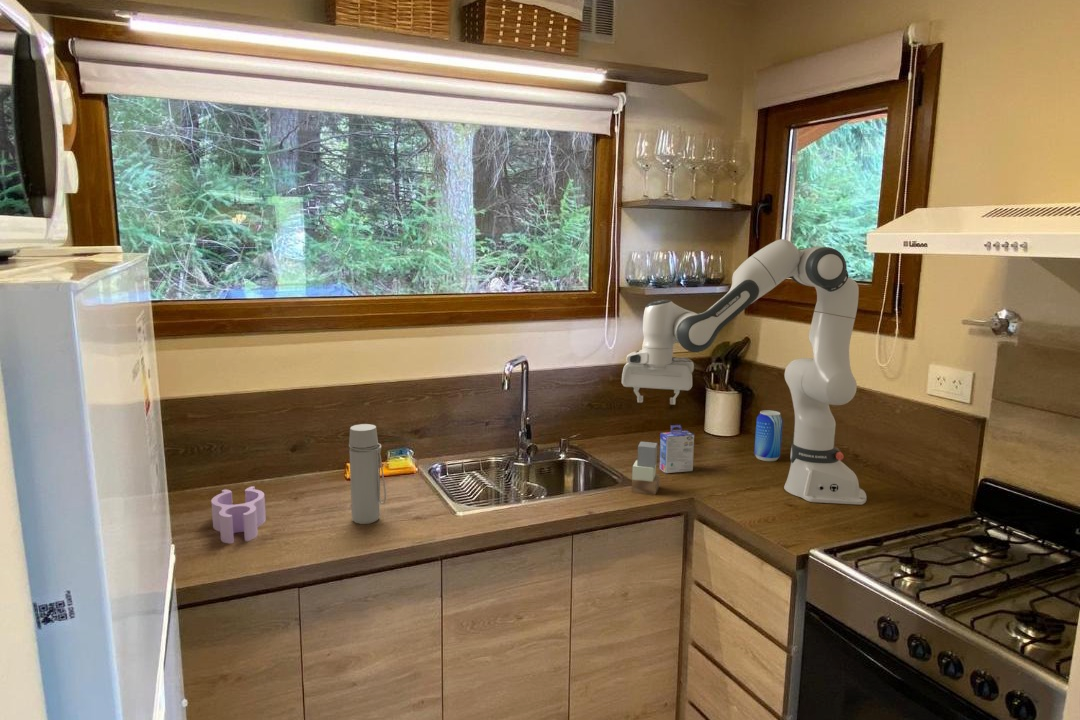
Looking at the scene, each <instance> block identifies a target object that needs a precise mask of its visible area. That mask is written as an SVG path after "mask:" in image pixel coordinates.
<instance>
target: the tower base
mask: <svg viewBox="0 0 1080 720" xmlns="http://www.w3.org/2000/svg"><path fill="white" fill-rule="evenodd" d="M659 488H660V474H656V476H655V478H654V480H653V482H651V481H642V480H634V479H632V478H631V493H634V494H636V493H637V494H642V495H643V494H645V495H652V496H656V495H657V493H658V490H659Z"/></svg>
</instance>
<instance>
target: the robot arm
mask: <svg viewBox="0 0 1080 720" xmlns="http://www.w3.org/2000/svg"><path fill="white" fill-rule="evenodd" d="M788 278H790V279H791V280H793V281H794V282H796V283H797V284H799V285H801V286H808V287H813V288H814V289H815V290H816V304H815V307H814V309H813V315H812V319H811V324H810V328H809V332H808V341H809V343H810V345H811V349H812V357H813V358H809V357H808V358H807V357H802V358H795V359H794V360H792V361H790V362H789V363H788V364H787V366H786V367H785V370H784V374H783V375H784V380H785V382H786V385H787V386H788V388H789V392H790V395H791V401H792V406H793V410H794V430H793V442H792V443H791V446H790V447H791V448H790V454H789V455H790V458H789V459H790V467H789V471H788V475H787V478H786V481H785V484H784V486H783V488H784V490H785V491H786V492H787V493H789V494H790V495H793V496H796V497H799V498H802V499H803V500H805V501H807V502H810V503H820V504H821V503H822V504H823V503H826V504H842V505H864V504H865V503H867V493H866V492H865V490H864V489H863V488H861V487H860V485H859V484H860V483H859V479H858V476H857V475H856V473H855V472H854V471H853V470H852V469H851V468H850V467H848V466H847V465H846V464H845V463H844V462H843V461H842V460H843V459H844V457H845V456H844V454H843V452H842V451H841V450H840V449H839V448H838V447H837V446H835V437H836V436H835V435H836V424H837V423H836V420H835V417H834V415H833V413H832V411H831V409H830V405H832V406H842V405H846V404H848V403H849V402H850V401H852V400H853V399H854V397H855V396H856V393H857V389H858V388H857V387H858V385H857V380H856V378H855V377H854V375H853V373H852V369H851V361H850V360H851V359H850V344H851V338H852V335H853V329H854V325H855V321H856V316H857V311H858V306H859V305H858V304H859V293H860V291H859V289H860V287H859V285H858V283H857V281H855V280H854V279H853V278H851V277H849V272H848V269H847V262H846V258H845V256H844V255H843V254H842V252H841V251H839V250H838V249H836V248H833V247H830V246H829V247H828V246H813V247H807V248H801V249H798V247H797V246H796V245H795V244H794V243H793V242H791V241H790V240H787V239H784V238H781V239H777V240H774V241H773V242H770V243H769V244H767V245H765V246H764V247H762V248H760V249H759V250H757V251H756V252H754V253H753V254H752V255H751V256H749V257H748V258H747V259H746V260H744V261H743V262H742V263H741V264H740V265H739V266H738V267H737V269H735V270H734V272H733V273H732V277H731V285H730V289H729V290H728V292H727V293H726V294H724V295H723V297H721V298H720V299H718V300H717V301H716V302H715V303H714V304H713V305H711V306H710V307H709V308H708V309H707V310H706V311H705V310H704V312H702V313H701V312H700V313H696V312H694V311H692V310H688V309H685V308H683V307H681V306H679V305H677V304H676V303H674V302H673V301H672V300H671V299H670V300H669V299H660V300H653V301H651V302H649V303H647V305H646V306H645V308H644V310H643V311H644V312H643V319H642V335H643V340H642V341H643V342H642V344H641V346H642V347H641V349H638V350H635V351H632V352H630V353H628V354H627V355H626V358H625V361H626V364H624V366H623V369H622V373H621V384H622V386H623V387H625V388H633V393H634V394H635V396H636V400H637V403H643V402H644V395H641V393H640V392H639V391H640V388H641V389H644V388H645V389H657V390H658V389H659V390H673V394H674V396H673V397H669V405H674V406H675V405H676V403H677V402H676V401H677V400H676V398H677V397H678V396H679V394H680V391H690V390H691V389H692V387H693V372H694V370H695V363H694V361H693V360H691V359H689V357H679V356H678V357H677V356H674V345H675V344H680V346H681V347H682V348H683V349H684V350H685V351H688V352H691V353H701V352H703V351H705V350H707V349H709V347H711V346H712V345H713V342H715V340H716V337H717V336H718V335H719V333H720V331H722V330H723V328H724V327H726V326H727V325H728V324H729V323H730V322H731V321H733V320H734V319H735V318H736V317H737V316H738V315H740V314H741V313H742V312H743V311H744V310H746V309H747V308H748V307H749V306H750V305H751V304H753V303H754V302H756V301H757V300H758V299H760V298H761V297H763V296H765V295H766V294H768V293H769V292H770V291H772V290H773V289H774V288H776V287H777V286H778V285H780V284H781V283H782V282H783V281H784V280H786V279H788Z"/></svg>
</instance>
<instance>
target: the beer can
mask: <svg viewBox="0 0 1080 720" xmlns="http://www.w3.org/2000/svg"><path fill="white" fill-rule="evenodd" d="M783 422H784V419H783V418H782V415H781V412H779V411H776V410H772V409H771V410H770V409H769V410H768V409H767V410H766V409H764V410H760V412H759V414H758V415H757V417H756V424H755V425H756V426H755V436H754V437H755V438H754V440H755V441H754V450H753V451H754V452H753V453H754V456H755V457H756V459H758V460H761V461H764V462H776V461H777V460H778V459H780V458H781V449H782V448H781V447H782V438H783V437H782V436H783V425H784V423H783Z"/></svg>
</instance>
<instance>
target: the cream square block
mask: <svg viewBox="0 0 1080 720" xmlns="http://www.w3.org/2000/svg"><path fill="white" fill-rule="evenodd" d="M637 460H638V459H636V460H635V462H634V463H633V465H632V472H631V473H632V474H631V480H632V479H634V480H642V481H651V482H653V480H654V478H655V476H656V475H657V464H656V465H655V468H652V467H643V466H637Z"/></svg>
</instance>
